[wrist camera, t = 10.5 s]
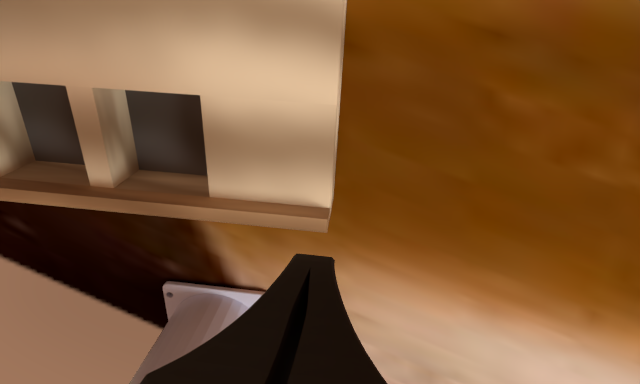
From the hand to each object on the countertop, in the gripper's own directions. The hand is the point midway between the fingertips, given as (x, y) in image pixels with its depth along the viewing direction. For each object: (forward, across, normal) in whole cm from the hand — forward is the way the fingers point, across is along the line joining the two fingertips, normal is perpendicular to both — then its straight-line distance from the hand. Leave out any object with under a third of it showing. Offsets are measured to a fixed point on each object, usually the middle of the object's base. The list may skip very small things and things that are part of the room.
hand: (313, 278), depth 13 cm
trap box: (+10, +13, -5) cm, 17 cm away
